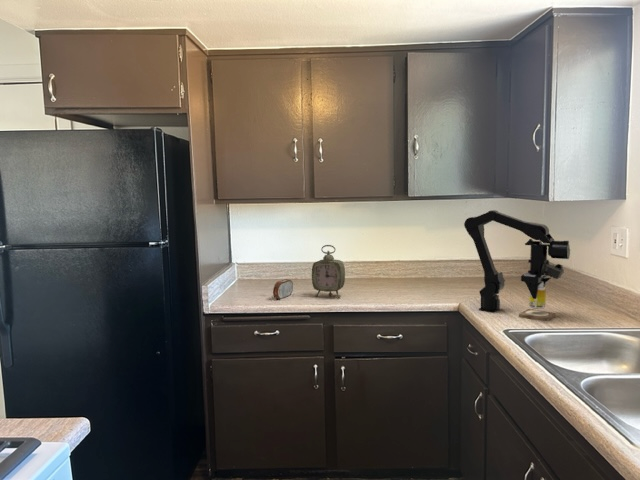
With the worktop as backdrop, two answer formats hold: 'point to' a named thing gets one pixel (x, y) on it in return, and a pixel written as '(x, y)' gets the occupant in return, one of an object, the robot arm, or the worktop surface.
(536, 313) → the walnut board
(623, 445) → the worktop surface
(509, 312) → the worktop surface
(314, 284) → the tabletop clock
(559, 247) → the robot arm
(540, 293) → the supplement bottle
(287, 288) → the tin
